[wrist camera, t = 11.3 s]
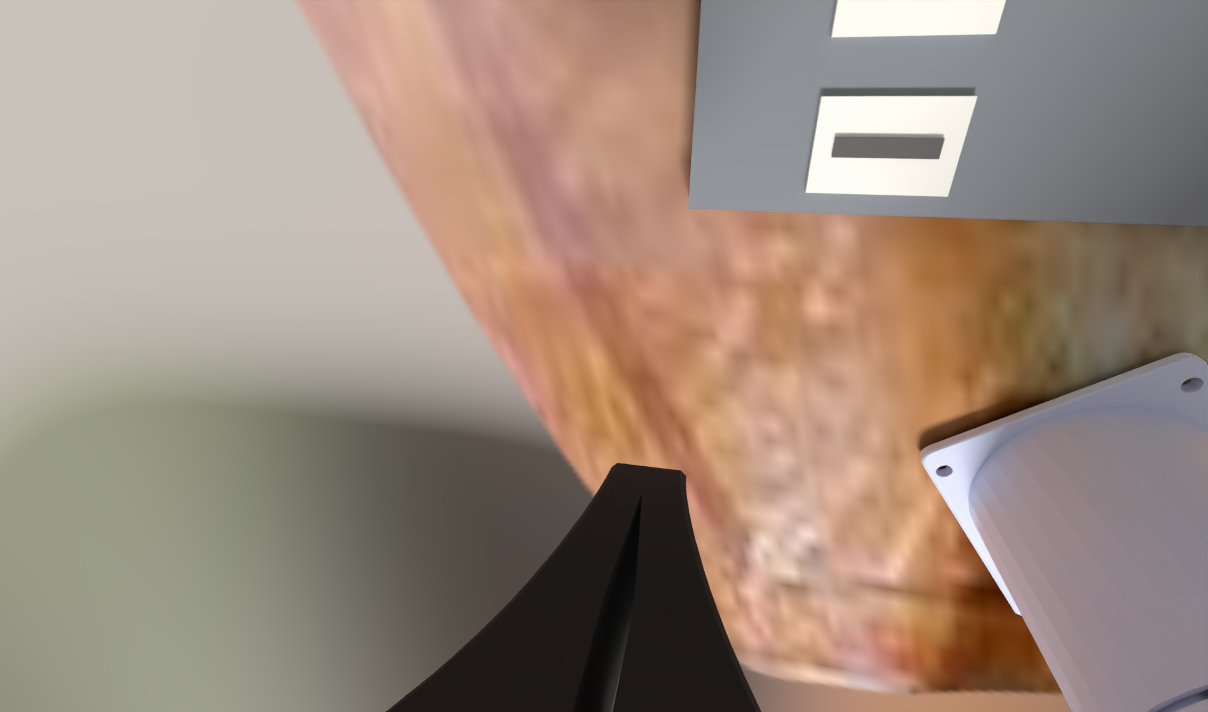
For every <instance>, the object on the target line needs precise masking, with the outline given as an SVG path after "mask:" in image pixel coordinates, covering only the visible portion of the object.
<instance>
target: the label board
mask: <svg viewBox="0 0 1208 712" xmlns="http://www.w3.org/2000/svg"><path fill="white" fill-rule="evenodd" d="M688 209H712V210H741V211H770V212H799V213H828V214H857V215H886V216H915V217H944V218H973V219H1002V220H1031V221H1060V222H1089V223H1118V224H1147V225H1176V226H1205V227H1208V0H701V13H700V29H699V44H698V60H697V76H696V92H695V108H694V124H693V139H692V155H691V171H690V187H689V203H688Z"/></svg>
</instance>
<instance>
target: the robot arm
mask: <svg viewBox="0 0 1208 712" xmlns="http://www.w3.org/2000/svg"><path fill="white" fill-rule="evenodd" d="M1190 378H1193V379H1192V380H1191V382H1189V383H1187V384H1186V385H1182V384H1183V382H1184V381H1186V380H1188V379H1190ZM919 457H920V460H921V462H922V464H923V466H924V468H925V470H926V471H927V473H928V474H929V476H930V478H931V479H932V481H933V482H934V484H935V485H936V487H937V489H938V490H939V492H940V493H941V495H942V497H943V498H944V500H945V501H946V503H947V505H948V506H949V508H950V509H951V511H952V513H953V514H954V516H955V517H956V519H957V521H958V522H959V524H960V525H961V527H962V529H963V530H964V532H965V533H966V535H967V537H968V538H969V540H970V541H971V543H972V545H973V546H974V548H975V549H976V551H977V553H978V554H979V556H980V557H981V559H982V561H983V562H984V564H985V565H986V567H987V569H988V570H989V572H990V573H991V575H992V577H993V578H994V580H995V581H996V583H997V584H998V586H999V588H1000V589H1001V591H1002V592H1003V594H1004V596H1005V597H1006V599H1007V600H1008V602H1009V604H1010V605H1011V607H1012V608H1013V610H1014V611H1015V612H1016V613H1017V614H1019V615H1021V616H1022V617H1023V619H1024V621H1025V623H1026V624H1027V626H1028V628H1029V630H1030V632H1031V634H1032V636H1033V638H1034V640H1035V641H1036V643H1037V645H1038V647H1039V649H1040V651H1041V653H1042V655H1043V657H1044V659H1045V660H1046V662H1047V664H1048V666H1049V668H1050V670H1051V672H1052V674H1053V676H1054V677H1055V679H1056V681H1057V683H1058V685H1059V687H1060V689H1061V691H1062V693H1063V694H1064V696H1065V698H1066V700H1067V702H1068V704H1069V706H1070V708H1071V710H1072V711H1073V712H1208V364H1207V363H1206V362H1205V361H1204V360H1203V359H1202V358H1200V357H1198V356H1197V355H1195V354H1192V353H1183V352H1182V353H1178V354H1174V355H1171V356H1168V357H1166V358H1163V359H1160V360H1158V361H1155V362H1152V363H1150V364H1147V365H1144V366H1141V367H1139V368H1136V369H1133V370H1131V371H1128V372H1125V373H1123V374H1120V375H1117V376H1115V377H1112V378H1109V379H1106V380H1104V381H1101V382H1098V383H1096V384H1093V385H1090V386H1088V387H1085V388H1082V389H1079V390H1077V391H1074V392H1071V393H1069V394H1066V395H1063V396H1061V397H1058V398H1055V399H1053V400H1050V401H1047V402H1044V403H1042V404H1039V405H1036V406H1034V407H1031V408H1028V409H1026V410H1023V411H1020V412H1018V413H1015V414H1012V415H1009V416H1007V417H1004V418H1001V419H999V420H996V421H993V422H991V423H988V424H985V425H982V426H980V427H977V428H974V429H972V430H969V431H966V432H964V433H961V434H958V435H956V436H953V437H950V438H947V439H945V440H942V441H939V442H937V443H934V444H931V445H929V446H927V447H925V448H924V449H923V450H922V451H921V452H920V456H919ZM944 465H947V467H946V468H944V469H940V470H939V469H937V468H939V467H940V466H944ZM623 658H624V659H623ZM622 662H623V664H622ZM621 666H622V669H621ZM620 670H621V674H620ZM619 674H620V679H619ZM618 679H619V684H618V689H617V694H616V699H615V704H614V709H613V712H761V710H760V708H759V706H758V704H757V702H756V700H755V697H754V695H753V693H752V691H751V689H750V687H749V684H748V682H747V680H746V678H745V676H744V674H743V671H742V669H741V667H740V664H739V662H738V660H737V657H736V655H735V653H734V650H733V648H732V646H731V643H730V641H729V638H728V636H727V633H726V631H725V628H724V626H723V623H722V621H721V618H720V615H719V613H718V610H717V607H716V604H715V601H714V599H713V596H712V593H711V590H710V587H709V584H708V581H707V578H706V575H705V572H704V568H703V565H702V561H701V558H700V554H699V551H698V547H697V544H696V540H695V536H694V532H693V528H692V523H691V518H690V514H689V508H688V502H687V494H686V476H685V475H684V473H683V472H682V471H680V470H672V469H663V468H655V467H647V466H638V465H630V464H621V463H617V464H615V465H614V466H613V467H612V468H611V469H610V471H609V473H608V475H607V477H606V479H605V480H604V482H603V484H602V485H601V487H600V489H599V490H598V492H597V493H596V495H595V496H594V498H593V500H592V501H591V502H590V504H589V505H588V507H587V508H586V510H585V511H584V513H583V514H582V515H581V517H580V518H579V519H578V521H577V522H576V523H575V525H574V526H573V527H572V529H571V530H570V531H569V533H568V534H567V535H566V537H565V538H564V539H563V541H562V542H561V543H560V545H559V546H558V547H557V549H556V550H555V551H554V552H553V553H552V554H551V556H550V557H549V558H548V559H547V560H546V562H545V563H544V564H543V565H542V566H541V567H540V569H539V570H538V571H537V572H536V573H535V575H534V576H533V577H532V578H531V579H530V580H529V582H528V583H527V584H526V585H525V586H524V587H523V588H522V589H521V590H520V591H519V592H518V594H517V595H516V596H515V597H514V598H513V599H512V600H511V601H510V602H509V603H508V604H507V605H506V606H505V607H504V608H503V609H502V610H501V611H500V612H499V613H498V614H497V615H496V616H495V617H494V618H493V619H492V620H491V621H490V622H489V623H488V624H487V625H486V626H485V627H484V628H483V629H482V630H481V631H480V632H479V633H478V634H477V635H476V636H475V637H474V638H472V639H471V640H470V641H469V642H468V643H467V644H466V645H465V646H464V647H463V648H462V649H461V650H459V651H458V652H457V653H456V654H455V655H454V656H453V657H452V658H451V659H449V660H448V661H447V662H446V663H445V664H444V665H443V666H441V667H440V668H439V669H438V670H437V671H436V672H435V673H434V674H432V675H431V676H430V677H429V678H427V679H426V680H425V681H424V682H422V683H421V684H420V685H419V686H417V687H416V688H415V689H414V690H412V691H411V692H410V693H409V694H407V695H406V696H405V697H404V698H402V699H401V700H400V701H399V702H397V703H396V704H395V705H394V706H392V708H390V709H389V710H388V711H386V712H611V708H612V703H613V699H614V695H615V691H616V687H617V683H618Z"/></svg>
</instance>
